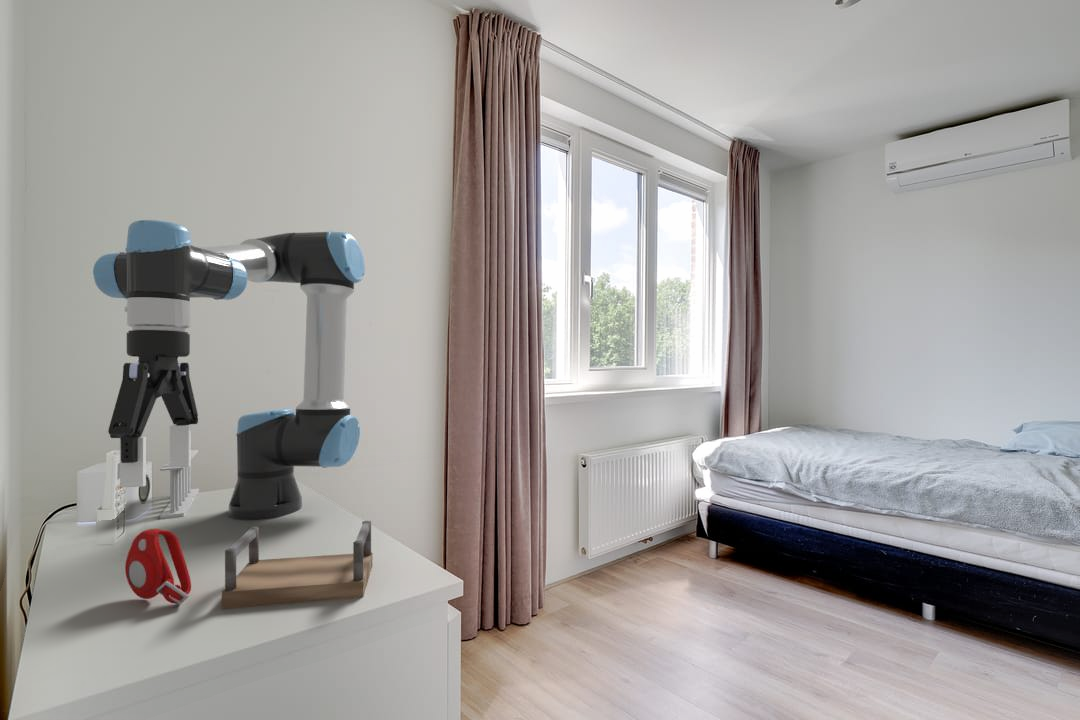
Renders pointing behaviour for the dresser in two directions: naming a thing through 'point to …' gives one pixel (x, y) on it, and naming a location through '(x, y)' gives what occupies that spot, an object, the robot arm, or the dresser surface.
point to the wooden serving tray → (295, 574)
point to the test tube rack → (179, 490)
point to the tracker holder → (157, 567)
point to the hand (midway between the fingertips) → (158, 476)
